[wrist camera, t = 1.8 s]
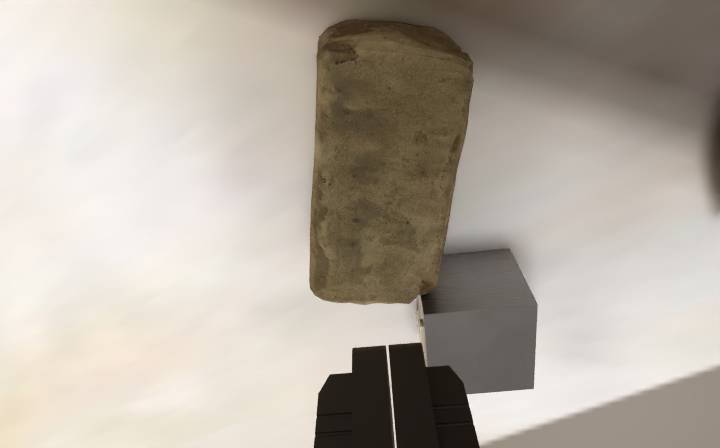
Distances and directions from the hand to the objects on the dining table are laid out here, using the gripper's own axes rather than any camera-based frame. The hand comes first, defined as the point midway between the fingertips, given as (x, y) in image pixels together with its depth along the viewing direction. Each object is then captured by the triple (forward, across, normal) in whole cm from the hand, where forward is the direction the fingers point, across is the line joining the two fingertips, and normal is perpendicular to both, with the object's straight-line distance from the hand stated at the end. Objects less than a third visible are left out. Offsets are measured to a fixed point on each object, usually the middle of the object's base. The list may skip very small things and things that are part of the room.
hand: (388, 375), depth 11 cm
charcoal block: (+15, -4, +9) cm, 18 cm away
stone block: (+16, 0, 0) cm, 16 cm away
